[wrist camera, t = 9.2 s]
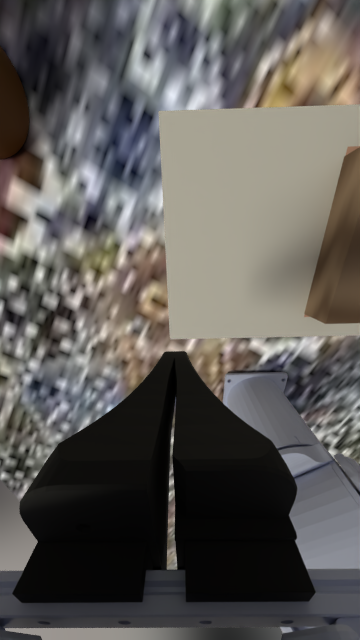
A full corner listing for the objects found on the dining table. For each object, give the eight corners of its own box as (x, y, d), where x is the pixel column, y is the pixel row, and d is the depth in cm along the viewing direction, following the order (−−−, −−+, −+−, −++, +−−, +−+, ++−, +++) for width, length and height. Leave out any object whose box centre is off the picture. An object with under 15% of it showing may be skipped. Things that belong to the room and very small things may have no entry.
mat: (449, 331, 20) (455, 333, 20) (170, 337, 21) (170, 339, 20) (588, 101, 13) (603, 96, 13) (159, 116, 14) (158, 111, 13)
